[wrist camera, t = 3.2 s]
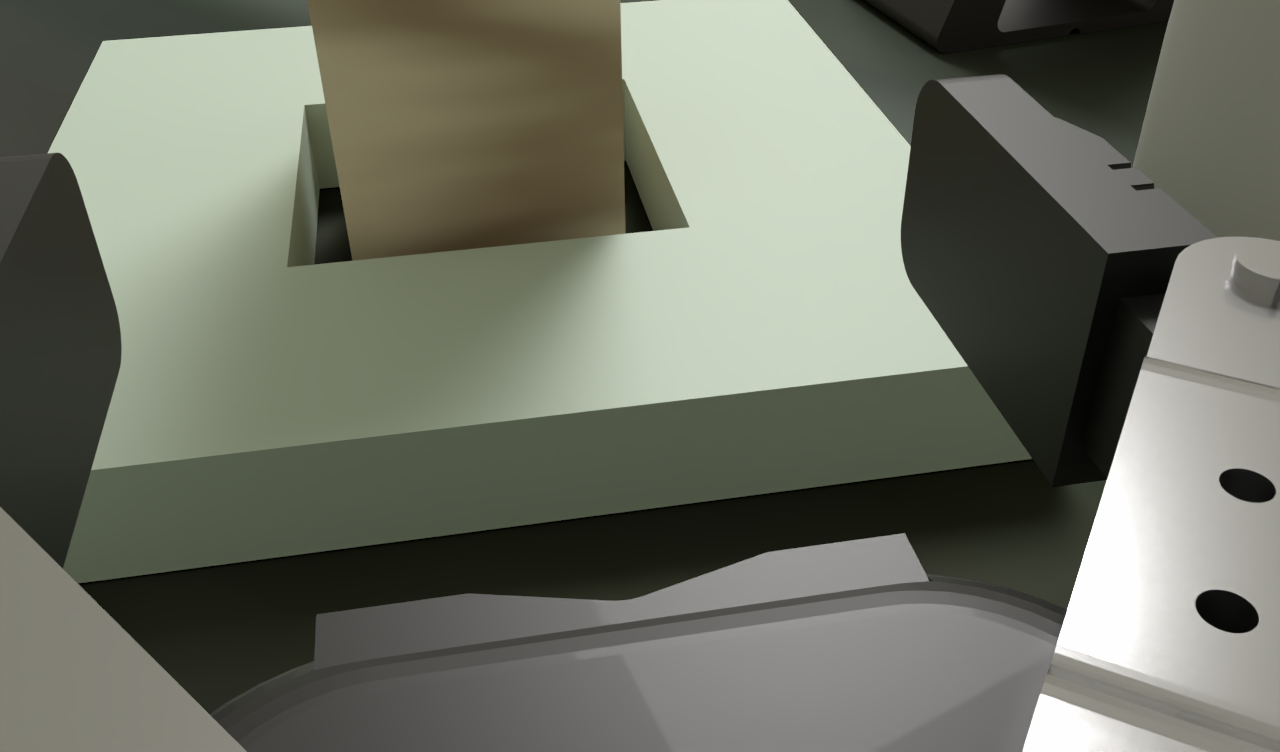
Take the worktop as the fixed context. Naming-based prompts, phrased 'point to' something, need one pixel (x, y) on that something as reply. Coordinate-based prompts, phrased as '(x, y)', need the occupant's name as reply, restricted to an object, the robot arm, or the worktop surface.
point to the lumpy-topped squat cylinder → (1218, 116)
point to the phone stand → (1015, 19)
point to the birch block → (473, 121)
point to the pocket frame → (500, 310)
